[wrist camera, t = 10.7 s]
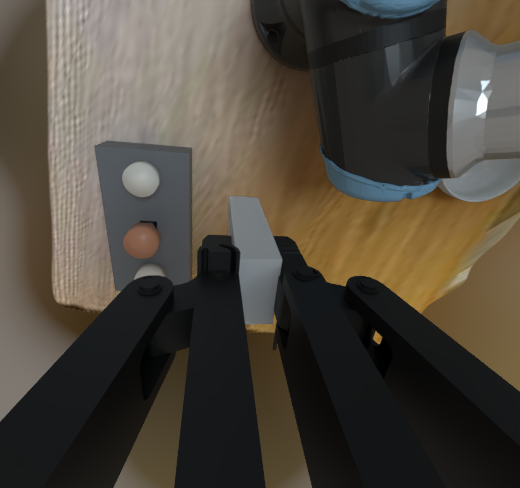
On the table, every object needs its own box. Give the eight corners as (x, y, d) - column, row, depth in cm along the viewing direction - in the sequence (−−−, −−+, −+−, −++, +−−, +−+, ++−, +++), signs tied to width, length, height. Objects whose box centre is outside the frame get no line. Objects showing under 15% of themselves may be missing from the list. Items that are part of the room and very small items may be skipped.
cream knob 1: (165, 155, 43) (156, 165, 37) (167, 183, 45) (158, 198, 39) (135, 152, 43) (120, 162, 36) (137, 181, 45) (124, 196, 38)
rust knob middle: (165, 210, 45) (156, 230, 38) (166, 236, 47) (158, 259, 40) (135, 209, 44) (121, 228, 37) (137, 235, 46) (124, 258, 39)
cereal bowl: (524, 92, 47) (572, 91, 41) (483, 191, 54) (517, 203, 48) (430, 84, 44) (466, 82, 38) (401, 189, 52) (426, 202, 46)
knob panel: (191, 147, 44) (188, 153, 39) (192, 275, 54) (189, 290, 50) (107, 140, 42) (94, 145, 37) (124, 274, 52) (115, 290, 48)
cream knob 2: (169, 248, 50) (162, 270, 44) (170, 269, 52) (164, 294, 46) (143, 247, 50) (132, 270, 43) (145, 269, 52) (134, 294, 45)
